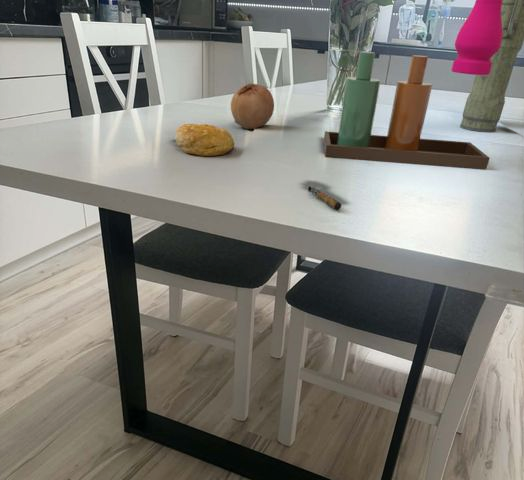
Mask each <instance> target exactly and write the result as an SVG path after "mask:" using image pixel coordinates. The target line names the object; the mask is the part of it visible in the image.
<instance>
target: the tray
mask: <svg viewBox="0 0 524 480" xmlns="http://www.w3.org/2000/svg"><path fill="white" fill-rule="evenodd" d="M338 134H339V131H328V130H327V131H325V130H324V135H323V151H324V157H325V158H330V159H340V160H341V159H342V160H344V159H345V160H355V161H356V160H358V161H368V162H369V161H370V162H382V163H391V164H392V163H394V164H407V165H419V166H431V167H433V166H434V167H444V168H446V167H447V168H456V169H468V170H469V169H471V170H482V171H486V170H487V168H488V166H489V162H490V158H491V157H490V156H489V155H487V154H485V153H484V152H483V151H482V150H481V149H479V148H478V147H477V146H475V144H473V143H471V142H469V141H457V140H443V139H429V138H420V142H419V146H418V150H417V151H408V150H395V149H385V144H386V139H387V135H379V134H371V139H370V145H369V147H356V146H343V145H337V142H338Z"/></svg>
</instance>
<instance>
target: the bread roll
mask: <svg viewBox="0 0 524 480" xmlns="http://www.w3.org/2000/svg"><path fill="white" fill-rule="evenodd" d="M174 140H175V141H176V143H177V145H178V146H179V147H180V149H181V150H182V151H184V153H185V154H190V155H195V156H201V157H202V156H203V157H211V156H212V157H213V156H222V155H225V154H227V153H229V152H230V151H232V149H234V148H235V140H234V138H233V137H232V134H231V133H230V132H229V131H228V130H227V129H224V128H223V129H222V128H220V127H218V126H215V125H212V124H207V123H203V124H198V123H197V124H196V123H184V124H182V125H180V126H179V127H178V128H177V129H176V130H175V135H174Z"/></svg>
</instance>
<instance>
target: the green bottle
mask: <svg viewBox="0 0 524 480" xmlns="http://www.w3.org/2000/svg"><path fill="white" fill-rule="evenodd" d="M375 57H376V53H375V52H373V51H359V55H358V62H357V68H356V74H355V76H346V78H345V82H344V83H345V84H344V92H343V98H342V107H341V113H340V121H339V127H338V128H339V129H338V132H339V134H338V142H337V145H343V146H356V147H369V145H370V139H371V135H372V133H373V127H374V121H375V115H376V110H377V104H378V98H379V92H380V87H381V80H380V79H378V78H372V76H373V75H372V74H373V68H374V62H375Z"/></svg>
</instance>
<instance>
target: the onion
mask: <svg viewBox="0 0 524 480" xmlns="http://www.w3.org/2000/svg"><path fill="white" fill-rule="evenodd" d="M274 110H275V100H274V97H273V94H272V92H271V91H270V90H269V89H268V87H266V86H265V85H262V84H259V83H253V82H249V83H247V84H245V85H243V86H241V87H240V88H238V89H237V90H235V92H234V94H233V95H232V97H231V100H230V111H231V115H232V118H233V120H234V123H235V124H236V125H238V126H240V127H241V128H243V129H247V130H255V129H258V128H262V127H264V126H266V125H267V124H268V123H269V122H270V120H271V118H272V117H273V114H274Z"/></svg>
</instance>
